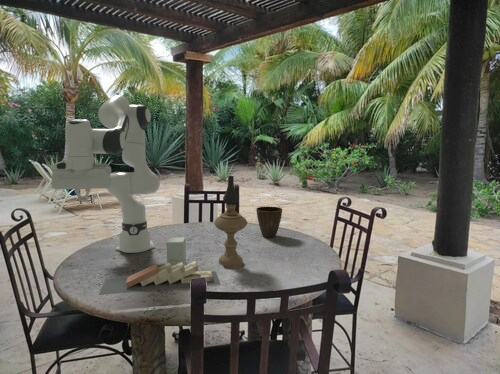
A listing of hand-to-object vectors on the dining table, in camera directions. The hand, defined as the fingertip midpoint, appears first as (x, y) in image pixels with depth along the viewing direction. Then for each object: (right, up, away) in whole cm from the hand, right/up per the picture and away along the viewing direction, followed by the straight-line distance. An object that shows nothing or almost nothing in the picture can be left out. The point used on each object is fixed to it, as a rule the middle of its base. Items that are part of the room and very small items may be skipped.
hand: (83, 200), depth 136 cm
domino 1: (+16, -31, +3) cm, 35 cm away
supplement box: (+30, -30, +24) cm, 49 cm away
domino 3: (+26, -31, +5) cm, 41 cm away
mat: (+28, -33, +6) cm, 44 cm away
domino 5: (+35, -31, +7) cm, 47 cm away
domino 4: (+31, -31, +6) cm, 44 cm away
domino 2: (+21, -31, +4) cm, 38 cm away
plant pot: (+73, -23, +74) cm, 107 cm away
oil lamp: (+54, -30, +29) cm, 68 cm away
